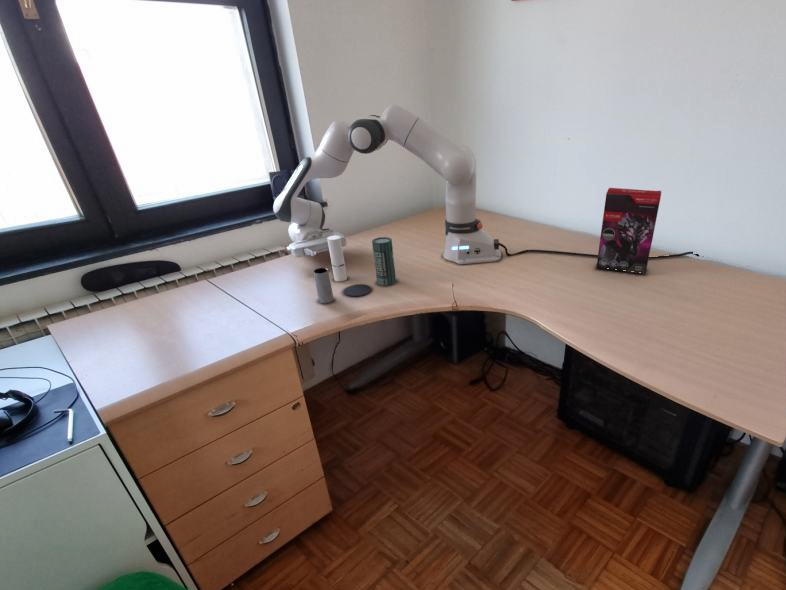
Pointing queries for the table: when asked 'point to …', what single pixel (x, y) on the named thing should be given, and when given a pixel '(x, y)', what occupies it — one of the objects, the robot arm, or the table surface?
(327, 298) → the grey hollow cylinder
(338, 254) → the tube
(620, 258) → the graphics card box
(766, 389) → the table surface
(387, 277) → the can
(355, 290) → the slate coaster
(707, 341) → the table surface
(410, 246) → the table surface
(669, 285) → the table surface
